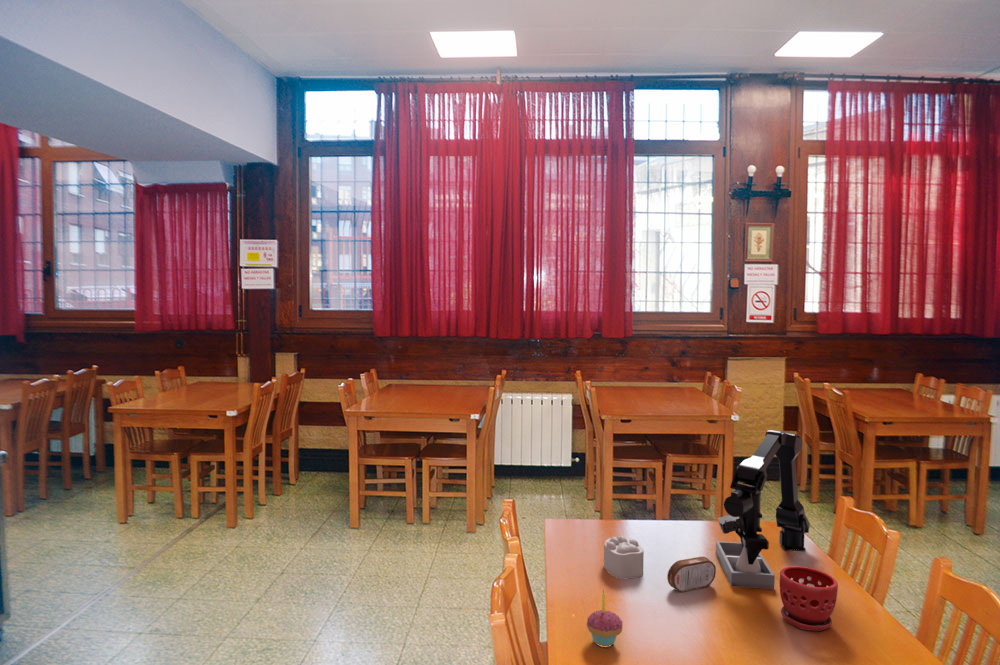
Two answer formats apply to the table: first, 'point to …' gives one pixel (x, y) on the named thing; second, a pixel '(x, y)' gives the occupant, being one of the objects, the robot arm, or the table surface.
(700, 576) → the tin
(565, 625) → the table surface
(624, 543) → the lumpy-topped squat cylinder
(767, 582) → the caddy
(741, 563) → the flask
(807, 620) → the plant pot
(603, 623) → the cupcake
